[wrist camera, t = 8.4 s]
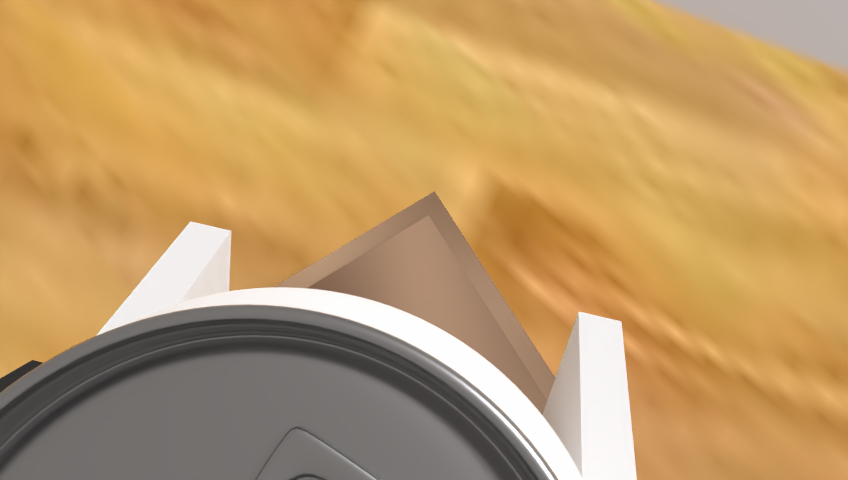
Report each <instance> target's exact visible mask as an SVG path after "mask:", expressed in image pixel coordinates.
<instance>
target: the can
mask: <svg viewBox="0 0 848 480" xmlns="http://www.w3.org/2000/svg"><path fill="white" fill-rule="evenodd" d="M0 480H583V478H582V476H581V474H580V472H579V470H578V468H577V466H576V465H575V463H574V461H573V460H572V458H571V456H570V454H569V453H568V451H567V450H566V448H565V446H564V445H563V443H562V442H561V440H560V439H559V437H558V436H557V434H556V433H555V432H554V430H553V429H552V427H551V426H550V425H549V423H548V422H547V421H546V420H545V418H544V417H543V416H542V414H541V413H540V412H539V411H538V409H537V408H536V407H535V406H534V405H533V404H532V403H531V401H530V400H529V399H528V398H527V397H526V396H525V395H524V394H523V393H522V392H521V391H520V390H519V389H518V387H517V386H516V385H515V384H514V383H512V382H511V381H510V380H509V379H508V378H507V377H506V376H505V375H504V374H503V373H502V372H501V371H500V370H498V369H497V368H496V367H495V366H494V365H493V364H491V363H490V362H489V361H488V360H486V359H485V358H484V357H483V356H481V355H480V354H479V353H477V352H476V351H475V350H473V349H472V348H470V347H469V346H467V345H466V344H465V343H463V342H462V341H460V340H458V339H457V338H455V337H454V336H452V335H451V334H449V333H447V332H445V331H444V330H442V329H440V328H438V327H436V326H435V325H433V324H431V323H429V322H427V321H425V320H423V319H421V318H418V317H416V316H414V315H412V314H409V313H407V312H405V311H402V310H399V309H397V308H394V307H392V306H389V305H386V304H383V303H380V302H376V301H373V300H369V299H366V298H362V297H358V296H353V295H349V294H344V293H339V292H333V291H326V290H318V289H308V288H288V287H274V288H254V289H244V290H235V291H229V292H223V293H217V294H213V295H208V296H203V297H199V298H195V299H192V300H188V301H185V302H181V303H178V304H175V305H172V306H169V307H166V308H164V309H161V310H158V311H155V312H153V313H151V314H148V315H146V316H143V317H141V318H139V319H137V320H135V321H133V322H130V323H128V324H126V325H123V326H120V327H118V328H115V329H112V330H109V331H107V332H104V333H102V334H100V335H97V336H95V337H92V338H90V339H88V340H86V341H84V342H81V343H79V344H77V345H75V346H73V347H71V348H69V349H67V350H65V351H64V352H62V353H60V354H58V355H56V356H54V357H53V358H51V359H49V360H48V361H46V362H44V363H42V364H41V365H39V366H38V367H36V368H34V369H33V370H31V371H30V372H28V373H27V374H25V375H24V376H22V377H21V378H20V379H18V380H17V381H15V382H14V383H13V384H11V385H10V386H8V387H7V388H6V389H4V390H3V391H2V392H1V393H0Z"/></svg>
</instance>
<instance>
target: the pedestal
mask: <svg viewBox="0 0 848 480" xmlns="http://www.w3.org/2000/svg"><path fill="white" fill-rule="evenodd" d="M275 287H288V288H308V289H318V290H326V291H333V292H339V293H344V294H349V295H353V296H358V297H362V298H366V299H369V300H373V301H376V302H380V303H383V304H386V305H389V306H392V307H394V308H397V309H399V310H402V311H405V312H407V313H409V314H412V315H414V316H416V317H418V318H421V319H423V320H425V321H427V322H429V323H431V324H433V325H435V326H436V327H438V328H440V329H442V330H444V331H445V332H447V333H449V334H451V335H452V336H454V337H455V338H457V339H458V340H460V341H462V342H463V343H465V344H466V345H467V346H469V347H470V348H472V349H473V350H475V351H476V352H477V353H479V354H480V355H481V356H483V357H484V358H485V359H486V360H488V361H489V362H490V363H491V364H493V365H494V366H495V367H496V368H497V369H498V370H500V371H501V372H502V373H503V374H504V375H505V376H506V377H507V378H508V379H509V380H510V381H511V382H512V383H514V384H515V385H516V386H517V387H518V389H519V390H520V391H521V392H522V393H523V394H524V395H525V396H526V397H527V398H528V399H529V400H530V401H531V403H532V404H533V405H534V406H535V407H536V408H537V409H538V411H539V412H540V413H541V414H542V415H543V412H544V409H545V406H546V403H547V400H548V398H549V395H550V392H551V389H552V386H553V383H554V381H555V377H554V375H553V374H552V372H551V371H550V369H549V367H548V366H547V364H546V363H545V361H544V360H543V358H542V357H541V355H540V354H539V352H538V350H537V349H536V347H535V346H534V344H533V343H532V341H531V340H530V338H529V337H528V335H527V333H526V332H525V330H524V329H523V327H522V326H521V324H520V323H519V321H518V320H517V318H516V316H515V315H514V313H513V312H512V310H511V309H510V307H509V306H508V304H507V303H506V301H505V299H504V298H503V296H502V295H501V293H500V292H499V290H498V289H497V287H496V286H495V284H494V282H493V281H492V279H491V278H490V276H489V275H488V273H487V272H486V270H485V269H484V267H483V265H482V264H481V262H480V261H479V259H478V258H477V256H476V255H475V253H474V252H473V250H472V248H471V247H470V245H469V244H468V242H467V241H466V239H465V238H464V236H463V235H462V233H461V231H460V230H459V228H458V227H457V225H456V224H455V222H454V221H453V219H452V217H451V216H450V214H449V213H448V211H447V210H446V208H445V207H444V205H443V204H442V202H441V200H440V199H439V197H438V196H437V194H436V193H435V191H434V192H433V193H431V194H429V195H428V196H426V197H424V198H423V199H421V200H419V201H418V202H416V203H414V204H413V205H411V206H409V207H408V208H406V209H404V210H403V211H401V212H399V213H397V214H396V215H394V216H392V217H391V218H389V219H387V220H386V221H384V222H382V223H381V224H379V225H377V226H376V227H374V228H372V229H371V230H369V231H367V232H366V233H364V234H362V235H361V236H359V237H357V238H356V239H354V240H352V241H350V242H349V243H347V244H345V245H344V246H342V247H340V248H339V249H337V250H335V251H334V252H332V253H330V254H329V255H327V256H325V257H324V258H322V259H320V260H319V261H317V262H315V263H314V264H312V265H310V266H308V267H307V268H305V269H303V270H302V271H300V272H298V273H297V274H295V275H293V276H292V277H290V278H288V279H287V280H285V281H283V282H282V283H280V284H278V285H277V286H275ZM273 288H274V287H273Z"/></svg>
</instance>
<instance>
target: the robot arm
mask: <svg viewBox="0 0 848 480" xmlns="http://www.w3.org/2000/svg"><path fill="white" fill-rule="evenodd" d="M230 251H231V231H230V230H225V229H221V228H217V227H212V226H208V225H204V224H199V223H195V222H190V223H189V224H188V225H187V226H186V228H185V229H184V230H183V231H182V232H181V234H180V235H179V236H178V237H177V238H176V240H175V241H174V242H173V243H172V245H171V246H170V247H169V248H168V249H167V251H166V252H165V253H164V254H163V255H162V257H161V258H160V259H159V260H158V261H157V263H156V264H155V265H154V266H153V268H152V269H151V270H150V271H149V272H148V274H147V275H146V276H145V277H144V278H143V280H142V281H141V282H140V283H139V284H138V286H137V287H136V288H135V289H134V291H133V292H132V293H131V294H130V295H129V297H128V298H127V299H126V300H125V301H124V303H123V304H122V305H121V306H120V307H119V309H118V310H117V311H116V312H115V314H114V315H113V316H112V317H111V318H110V320H109V321H108V322H107V323H106V324H105V326H104V327H103V328H102V329H101V330H100V332H99V333H98V334H97V335H100V334H102V333H104V332H107V331H109V330H112V329H115V328H118V327H120V326H123V325H126V324H128V323H130V322H133V321H135V320H137V319H139V318H141V317H143V316H146V315H148V314H151V313H153V312H155V311H158V310H161V309H164V308H166V307H169V306H172V305H175V304H178V303H181V302H185V301H188V300H192V299H195V298H199V297H203V296H208V295H213V294H217V293H223V292H229V276H230ZM97 335H96V336H97ZM41 364H42V362H38V361H34V360H32V361H30V362H28V363H27V364H25V365H23V366H21V367H20V368H18V369H16V370H14V371H13V372H11V373H9V374H8V375H6V376H4V377H2V378H1V379H0V393H1V392H2V391H3V390H4V389H6V388H7V387H8V386H10V385H11V384H13V383H14V382H15V381H17V380H18V379H20V378H21V377H22V376H24V375H25V374H27V373H28V372H30V371H31V370H33V369H34V368H36V367H38V366H39V365H41ZM542 416H543V417H544V418H545V420H546V421H547V422H548V423H549V425H550V426H551V427H552V429H553V430H554V432H555V433H556V434H557V436H558V437H559V439H560V440H561V442H562V443H563V445H564V446H565V448H566V450H567V451H568V453H569V454H570V456H571V458H572V460H573V461H574V463H575V465H576V466H577V468H578V470H579V472H580V474H581V476H582V478H583V480H637V477H636V467H635V456H634V446H633V436H632V425H631V415H630V405H629V395H628V384H627V374H626V364H625V353H624V343H623V333H622V323H621V321H617V320H613V319H608V318H604V317H600V316H596V315H591V314H587V313H583V312H578V315H577V318H576V321H575V324H574V327H573V329H572V332H571V335H570V338H569V341H568V344H567V346H566V349H565V352H564V355H563V358H562V361H561V363H560V366H559V369H558V372H557V375H556V378H555V381H554V383H553V386H552V389H551V392H550V395H549V398H548V400H547V403H546V406H545V409H544V412H543V415H542Z"/></svg>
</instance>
